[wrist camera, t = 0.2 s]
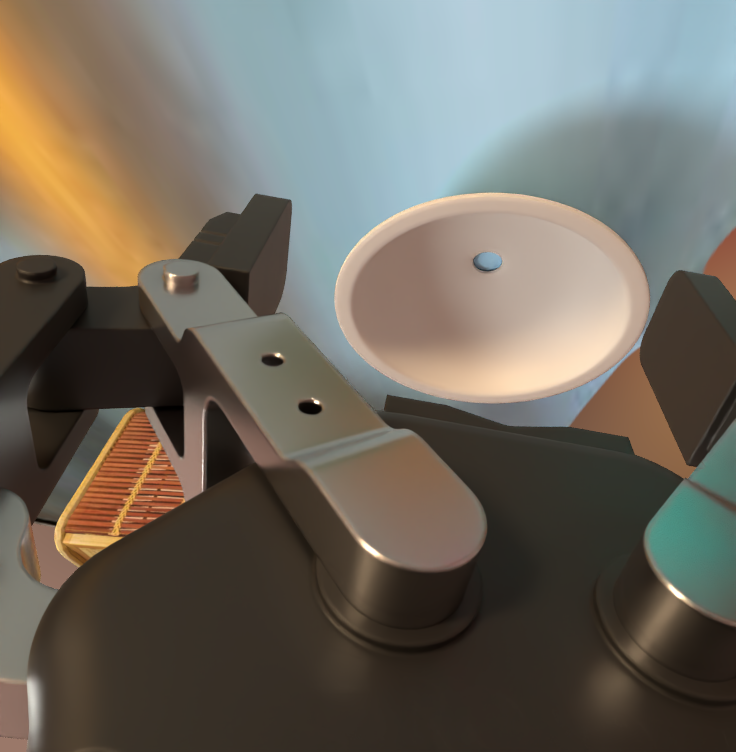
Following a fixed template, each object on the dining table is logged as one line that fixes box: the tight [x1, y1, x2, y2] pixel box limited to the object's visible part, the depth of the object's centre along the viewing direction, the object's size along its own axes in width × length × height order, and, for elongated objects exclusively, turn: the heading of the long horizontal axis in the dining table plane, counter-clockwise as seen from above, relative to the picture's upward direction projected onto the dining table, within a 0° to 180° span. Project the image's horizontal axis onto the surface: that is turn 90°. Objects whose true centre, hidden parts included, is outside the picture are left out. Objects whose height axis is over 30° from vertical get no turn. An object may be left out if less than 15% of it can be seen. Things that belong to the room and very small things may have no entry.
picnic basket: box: [54, 408, 185, 567], centre depth 79 cm, size 29×26×30 cm
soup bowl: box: [335, 193, 650, 403], centre depth 54 cm, size 24×24×7 cm
